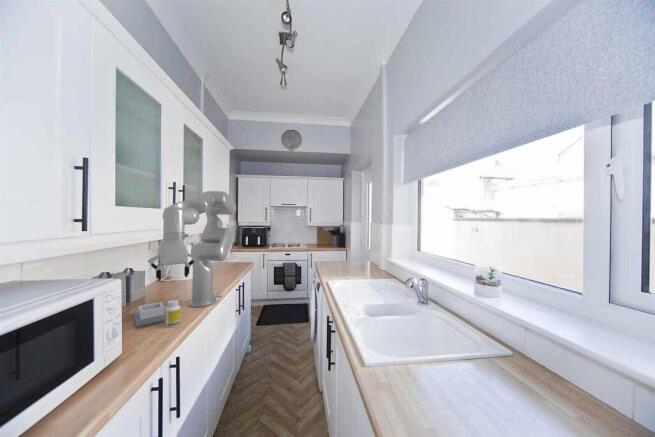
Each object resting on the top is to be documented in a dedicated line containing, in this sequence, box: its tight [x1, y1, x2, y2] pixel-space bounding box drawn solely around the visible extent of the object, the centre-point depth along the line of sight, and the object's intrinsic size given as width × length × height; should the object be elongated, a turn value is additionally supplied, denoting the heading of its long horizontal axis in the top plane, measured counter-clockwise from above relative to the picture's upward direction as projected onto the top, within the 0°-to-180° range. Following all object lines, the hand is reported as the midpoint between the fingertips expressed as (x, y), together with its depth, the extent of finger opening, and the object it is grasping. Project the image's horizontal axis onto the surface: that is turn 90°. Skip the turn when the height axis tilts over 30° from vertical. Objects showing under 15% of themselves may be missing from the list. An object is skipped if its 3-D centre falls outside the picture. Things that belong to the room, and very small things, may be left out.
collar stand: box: [132, 301, 166, 329], centre depth 110 cm, size 12×18×4 cm, turn 42°
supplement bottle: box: [164, 299, 181, 328], centre depth 104 cm, size 5×5×10 cm
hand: (173, 277), depth 103 cm, fingers open, 9 cm apart
